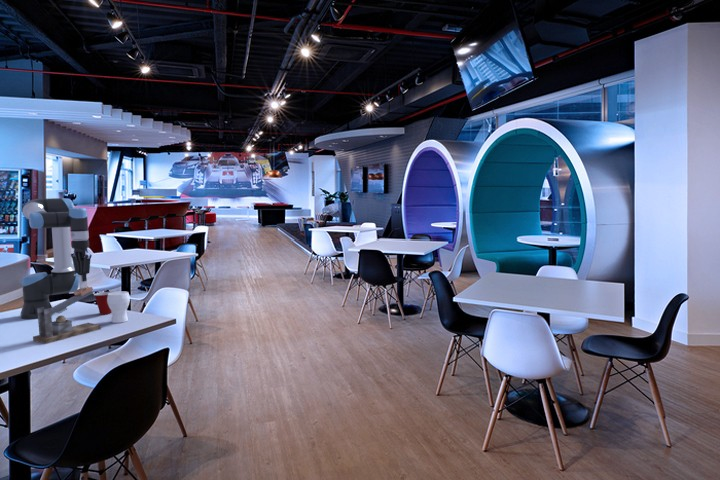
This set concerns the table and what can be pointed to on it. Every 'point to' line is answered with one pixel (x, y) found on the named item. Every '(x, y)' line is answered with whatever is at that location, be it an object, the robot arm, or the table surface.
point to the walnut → (60, 319)
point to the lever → (71, 300)
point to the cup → (118, 305)
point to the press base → (70, 334)
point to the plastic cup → (103, 303)
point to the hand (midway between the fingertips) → (83, 287)
